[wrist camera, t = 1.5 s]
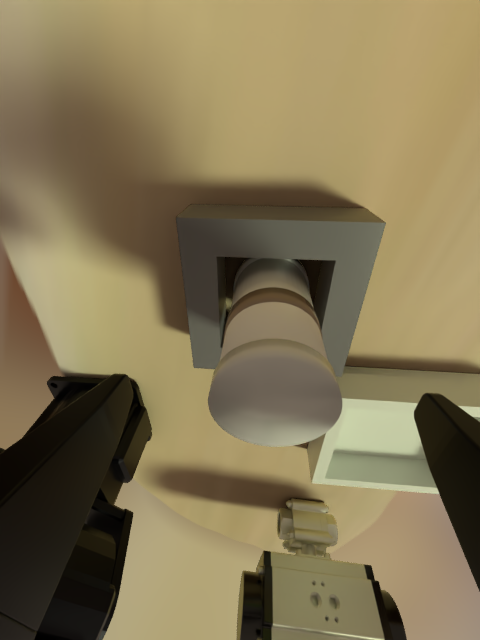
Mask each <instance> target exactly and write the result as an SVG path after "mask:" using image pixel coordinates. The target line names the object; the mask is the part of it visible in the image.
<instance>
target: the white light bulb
mask: <svg viewBox="0 0 480 640" xmlns="http://www.w3.org/2000/svg"><path fill="white" fill-rule="evenodd" d="M233 292H234V296H233V300H232V305H231V310H230V312H229V315H228V318H227V323H226V327H225V332H224V339H223V341H224V343H223V348H222V352H221V357H220V361H219V363H218V365H217V366H216V368H215V371H214V374H213V379H212V383H211V388H210V392H209V397H208V405H209V410H210V412H211V415H212V417H213V418H214V420H215V421H216V423H217V424H218V425H219V426H220V427H221V428H222V429H223V430H225V431H226V432H227V433H229V434H230V435H232V436H234V437H236V438H238V439H240V440H243V441H245V442H248V443H252V444H256V445H261V446H269V447H286V446H294V445H299V444H303V443H306V442H309V441H312V440H314V439H316V438H318V437H320V436H322V435H323V434H325V433H326V432H327V431H329V430H330V429H331V428H332V427H333V426H334V425H335V423H336V422H337V420H338V419H339V417H340V414H341V411H342V396H341V392H340V389H339V385H338V382H337V378H336V375H335V372H334V370H333V368H332V366H331V364H330V363H329V361H328V359H327V355H326V352H325V348H324V344H323V339H322V332H321V328H320V324H319V321H318V317H317V314H316V311H315V310H314V307H313V304H312V300H311V296H310V293H309V281H308V277H307V274H306V271H305V268H304V267H303V265H302V264H301V262H300V261H299V260H298V259H275V258H247V259H245V261H244V262H243V263H242V264H241V265H240V267H239V269H238V271H237V273H236V277H235V281H234V287H233Z"/></svg>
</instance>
